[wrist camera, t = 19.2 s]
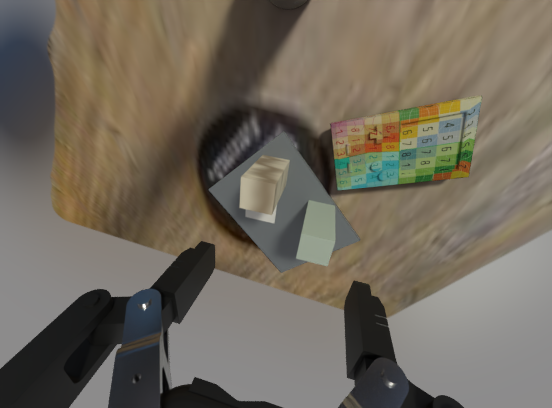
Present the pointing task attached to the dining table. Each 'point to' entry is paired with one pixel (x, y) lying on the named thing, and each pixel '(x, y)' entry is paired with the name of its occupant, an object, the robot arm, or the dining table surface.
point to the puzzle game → (406, 145)
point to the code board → (281, 206)
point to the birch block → (263, 184)
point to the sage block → (317, 233)
